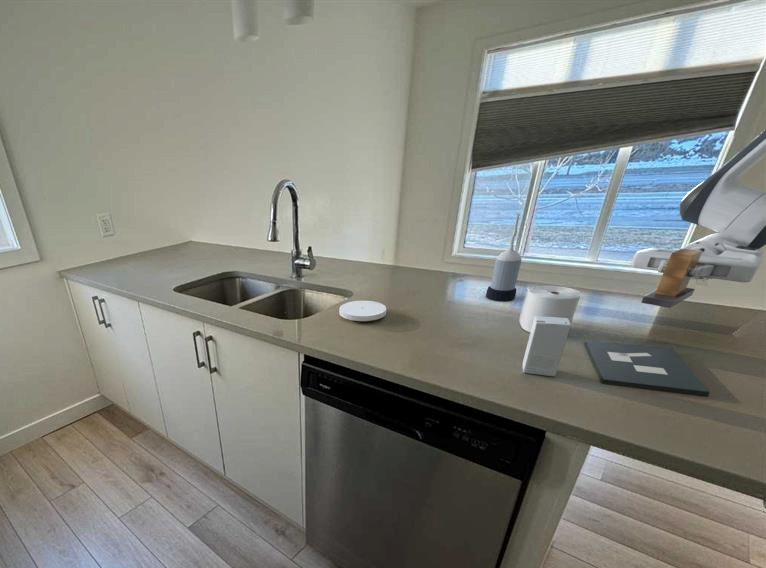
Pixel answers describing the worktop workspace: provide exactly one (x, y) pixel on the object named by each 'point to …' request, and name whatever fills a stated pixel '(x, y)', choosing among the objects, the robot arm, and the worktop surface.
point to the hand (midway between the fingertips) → (677, 271)
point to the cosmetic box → (546, 345)
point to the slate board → (643, 367)
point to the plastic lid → (362, 310)
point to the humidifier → (505, 272)
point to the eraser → (674, 279)
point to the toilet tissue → (548, 304)
